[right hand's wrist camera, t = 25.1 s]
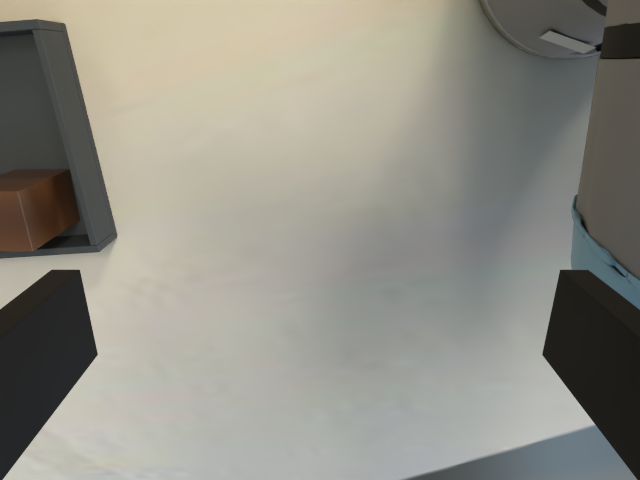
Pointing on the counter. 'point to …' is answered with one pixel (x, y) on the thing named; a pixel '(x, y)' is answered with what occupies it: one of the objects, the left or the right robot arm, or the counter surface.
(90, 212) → the tray
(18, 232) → the walnut block
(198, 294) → the counter surface
